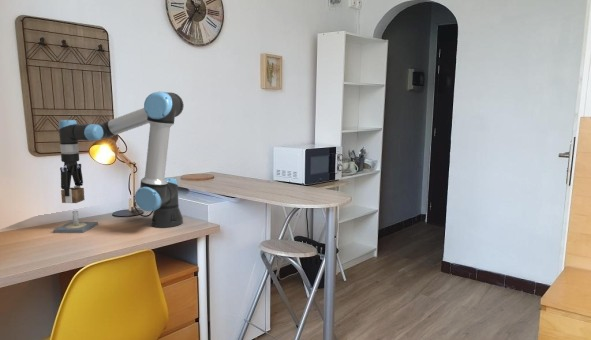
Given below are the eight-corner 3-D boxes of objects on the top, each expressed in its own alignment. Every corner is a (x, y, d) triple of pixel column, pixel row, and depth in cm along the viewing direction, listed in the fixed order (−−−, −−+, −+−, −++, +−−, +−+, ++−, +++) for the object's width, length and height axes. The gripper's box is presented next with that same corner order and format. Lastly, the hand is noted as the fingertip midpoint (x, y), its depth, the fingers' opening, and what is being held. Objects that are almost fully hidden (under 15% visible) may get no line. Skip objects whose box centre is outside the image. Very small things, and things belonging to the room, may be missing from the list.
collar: (84, 200, 209) (83, 187, 208) (76, 203, 202) (75, 190, 201) (70, 199, 210) (69, 187, 209) (61, 202, 203) (61, 190, 202)
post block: (98, 224, 214) (96, 208, 213) (82, 232, 200) (81, 215, 199) (70, 224, 215) (69, 208, 214) (53, 232, 201) (51, 215, 200)
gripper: (74, 150, 213) (77, 196, 216) (48, 155, 193) (53, 205, 196) (89, 150, 212) (92, 196, 215) (65, 155, 192) (69, 205, 196)
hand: (73, 200), depth 206 cm, fingers closed on collar, 7 cm apart
